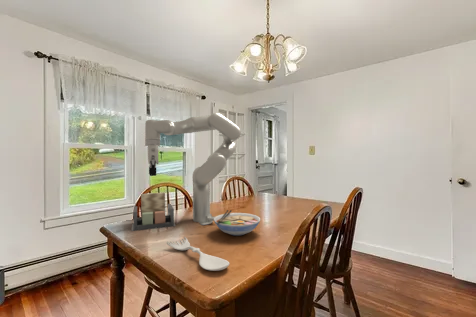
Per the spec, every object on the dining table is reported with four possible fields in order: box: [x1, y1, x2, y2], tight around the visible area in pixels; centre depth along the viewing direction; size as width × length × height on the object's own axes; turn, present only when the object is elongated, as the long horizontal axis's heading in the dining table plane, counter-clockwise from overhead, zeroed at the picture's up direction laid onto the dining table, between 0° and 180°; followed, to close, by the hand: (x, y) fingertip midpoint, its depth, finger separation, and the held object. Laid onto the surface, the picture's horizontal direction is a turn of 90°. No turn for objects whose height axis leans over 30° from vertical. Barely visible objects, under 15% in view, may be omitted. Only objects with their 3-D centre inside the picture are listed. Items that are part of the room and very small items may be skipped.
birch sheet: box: [140, 192, 166, 219], centre depth 126 cm, size 12×2×16 cm, turn 113°
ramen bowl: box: [213, 209, 261, 237], centre depth 113 cm, size 25×23×8 cm
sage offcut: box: [142, 212, 153, 225], centre depth 119 cm, size 5×4×7 cm
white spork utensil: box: [166, 236, 230, 272], centre depth 86 cm, size 9×32×4 cm, turn 43°
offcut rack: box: [130, 203, 177, 232], centre depth 123 cm, size 21×14×10 cm, turn 113°
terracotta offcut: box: [155, 210, 166, 224], centre depth 122 cm, size 5×4×7 cm
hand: (152, 175), depth 125 cm, fingers open, 9 cm apart
